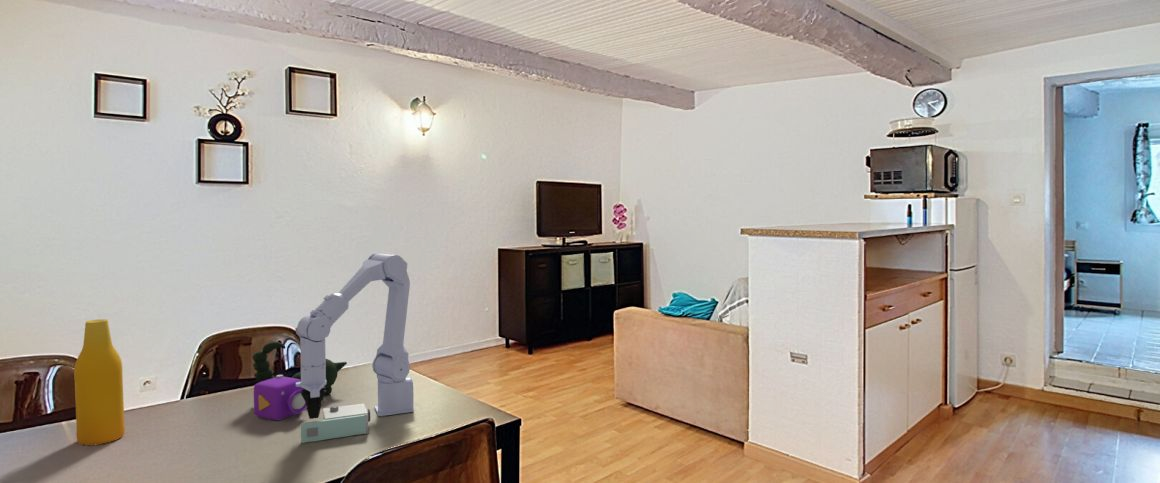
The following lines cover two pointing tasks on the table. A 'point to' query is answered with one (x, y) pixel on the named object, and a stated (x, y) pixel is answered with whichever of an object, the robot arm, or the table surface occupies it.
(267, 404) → the toy camera
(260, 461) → the table surface
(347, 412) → the block
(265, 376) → the toy figurine
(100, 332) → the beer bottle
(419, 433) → the table surface
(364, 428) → the side door
